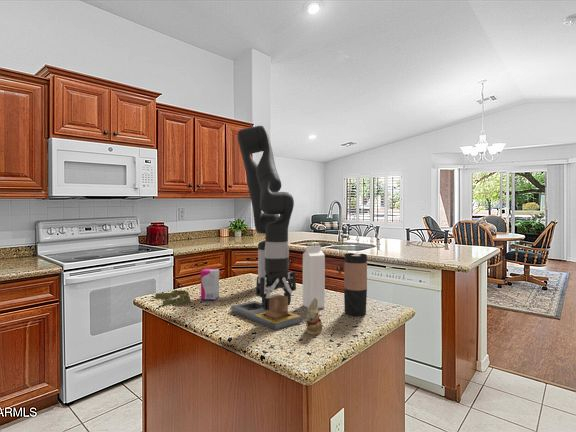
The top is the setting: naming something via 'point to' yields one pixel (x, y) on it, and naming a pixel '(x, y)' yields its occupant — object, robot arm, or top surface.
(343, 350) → the top surface
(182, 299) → the cookie cutter
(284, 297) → the block
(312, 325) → the chocolate bunny
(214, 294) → the supplement box
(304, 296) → the milk
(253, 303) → the gray slotted board
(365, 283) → the travel mug
